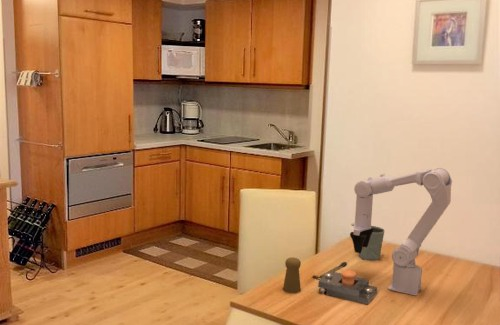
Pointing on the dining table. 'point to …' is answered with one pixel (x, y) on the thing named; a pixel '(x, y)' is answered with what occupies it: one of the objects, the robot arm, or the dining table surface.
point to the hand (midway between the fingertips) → (361, 249)
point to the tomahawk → (331, 270)
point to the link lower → (363, 298)
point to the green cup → (373, 245)
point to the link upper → (335, 283)
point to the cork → (292, 276)
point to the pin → (348, 277)
